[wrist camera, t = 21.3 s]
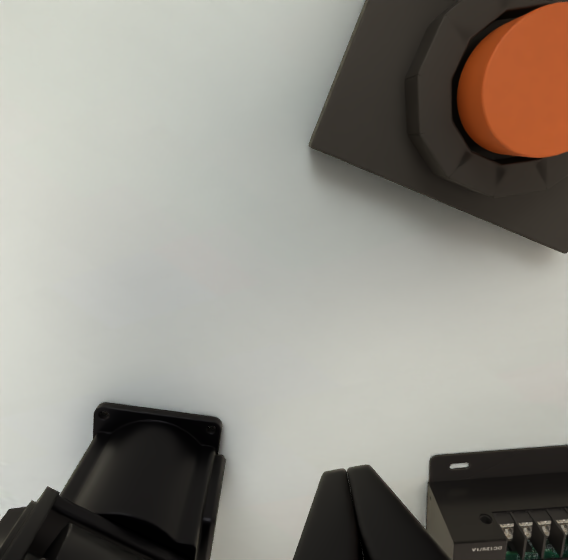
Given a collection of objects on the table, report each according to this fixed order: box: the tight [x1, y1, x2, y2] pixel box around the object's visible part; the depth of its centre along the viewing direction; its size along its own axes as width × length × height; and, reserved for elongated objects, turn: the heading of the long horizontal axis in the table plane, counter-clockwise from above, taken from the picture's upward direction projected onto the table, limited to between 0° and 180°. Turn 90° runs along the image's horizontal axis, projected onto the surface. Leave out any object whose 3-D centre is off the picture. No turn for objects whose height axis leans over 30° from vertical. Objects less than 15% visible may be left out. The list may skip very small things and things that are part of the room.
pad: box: [309, 0, 568, 253], centre depth 16 cm, size 12×9×3 cm
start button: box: [457, 2, 568, 158], centre depth 14 cm, size 4×4×2 cm
